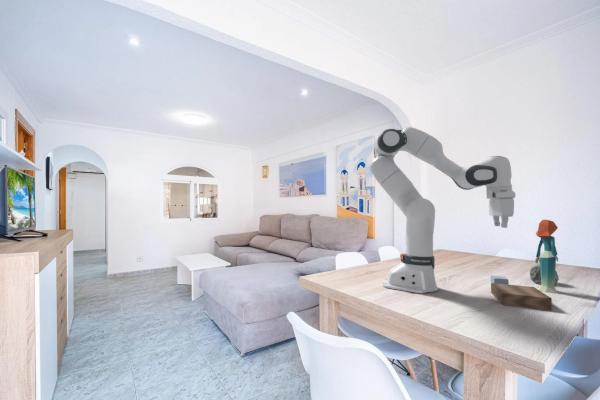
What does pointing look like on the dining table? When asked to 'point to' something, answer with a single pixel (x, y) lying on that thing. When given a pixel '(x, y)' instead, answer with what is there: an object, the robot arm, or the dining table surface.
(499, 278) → the slate block
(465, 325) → the dining table surface
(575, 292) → the dining table surface
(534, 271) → the stone
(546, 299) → the walnut pedestal
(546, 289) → the sculpture
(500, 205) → the robot arm
